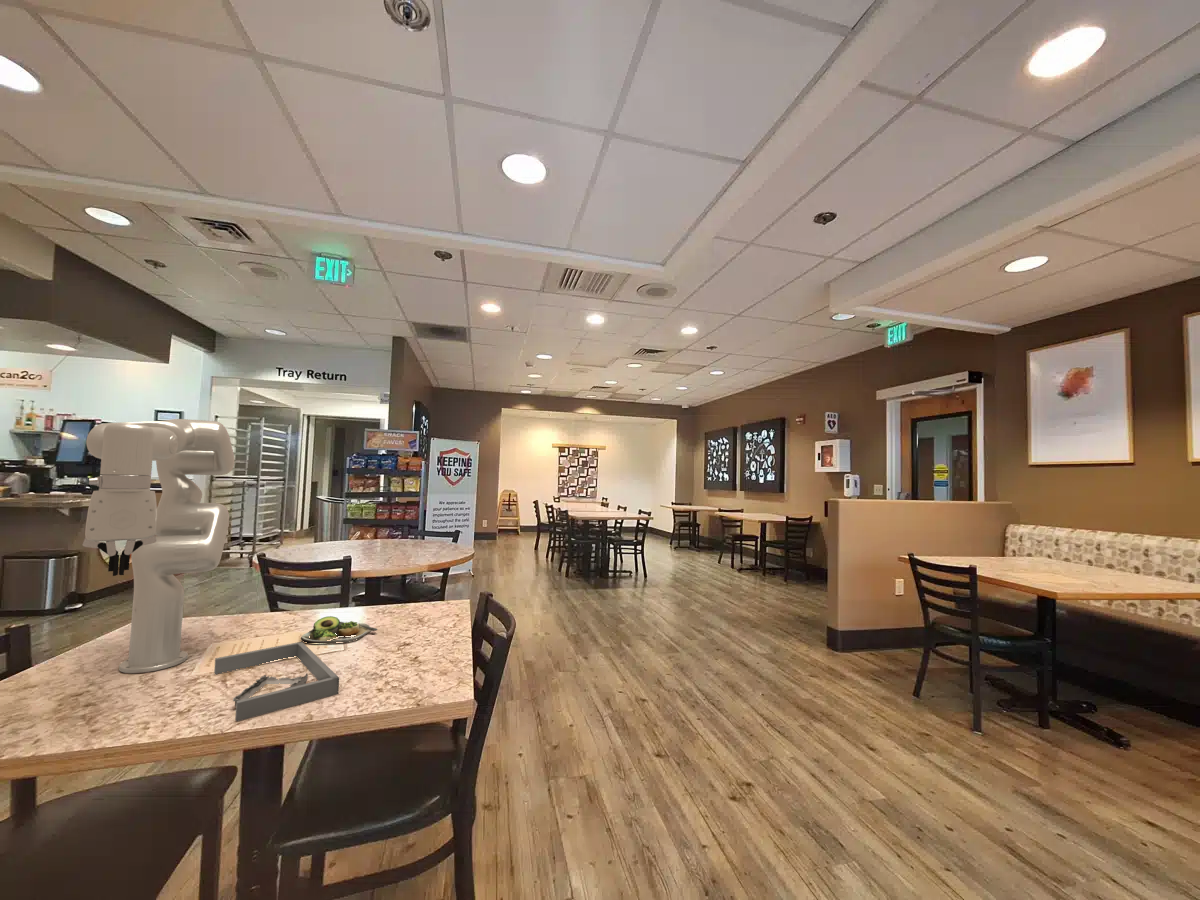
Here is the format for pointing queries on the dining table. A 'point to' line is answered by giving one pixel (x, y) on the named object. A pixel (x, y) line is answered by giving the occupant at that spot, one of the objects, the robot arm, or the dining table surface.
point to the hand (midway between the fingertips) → (118, 574)
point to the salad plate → (335, 630)
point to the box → (285, 697)
